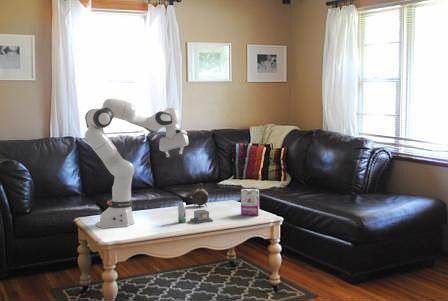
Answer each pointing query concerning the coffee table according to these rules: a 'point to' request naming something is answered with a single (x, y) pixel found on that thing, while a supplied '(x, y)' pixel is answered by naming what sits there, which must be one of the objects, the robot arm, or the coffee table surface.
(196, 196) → the alarm clock
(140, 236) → the coffee table surface
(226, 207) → the coffee table surface
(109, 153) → the robot arm
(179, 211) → the column
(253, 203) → the candy bar box
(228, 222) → the coffee table surface
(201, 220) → the stand
